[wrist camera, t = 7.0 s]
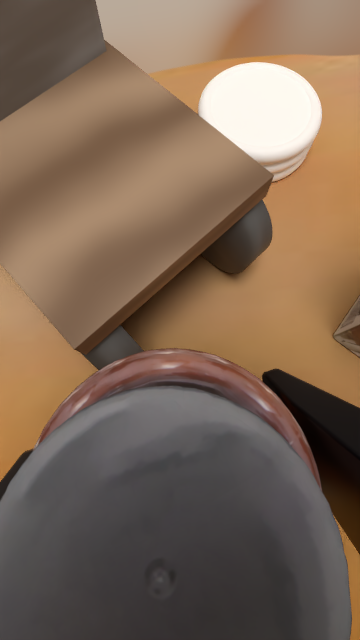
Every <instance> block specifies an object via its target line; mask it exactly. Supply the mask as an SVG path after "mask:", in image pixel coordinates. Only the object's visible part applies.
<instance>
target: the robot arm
mask: <svg viewBox="0 0 360 640" xmlns="http://www.w3.org/2000/svg"><path fill="white" fill-rule="evenodd" d="M262 379H263V383H264V384H265V385H266V386H268V387H269V388H270V389H271V390H272V391H273V392H274V393H275V394H276V395H277V396H278V397H279V398H280V399H281V401H282V402H283V403H284V405H285V406H286V407H287V408H288V410H289V411H290V412H291V414H292V415H293V417H294V418H295V420H296V421H297V423H298V425H299V426H300V428H301V429H302V431H303V433H304V435H305V437H306V439H307V442H308V444H309V446H310V448H311V451H312V454H313V457H314V460H315V463H316V465H317V469H318V473H319V477H320V482H321V488H322V492H323V494H324V496H325V498H326V499H327V501H328V503H329V505H330V508H331V511H332V513H333V515H334V516H335V518H336V519H337V521H338V522H339V524H340V525H341V527H342V528H343V530H344V531H345V533H346V534H347V536H348V538H349V539H350V541H351V542H352V544H353V545H354V547H355V548H356V550H357V551H358V553H359V554H360V408H358V407H356V406H354V405H352V404H350V403H348V402H346V401H344V400H342V399H340V398H338V397H336V396H334V395H331V394H329V393H327V392H325V391H323V390H321V389H319V388H317V387H315V386H313V385H311V384H309V383H307V382H305V381H302V380H300V379H298V378H296V377H294V376H292V375H290V374H288V373H286V372H284V371H282V370H280V369H273V370H270V371H267V372H264V373H263V375H262ZM33 449H34V448H33ZM33 449H30V450H27V451H25V452H24V453H23V454H22V455H21V456H20V457H19V459H18V460H17V461H16V462H15V464H14V465H13V466H12V468H11V469H10V470H9V471H8V473H7V474H6V475H5V477H4V478H3V479H2V480H1V482H0V500H1V498H2V496H3V495H4V493H5V491H6V490H7V487H8V485H9V483H10V481H11V480H12V479H13V477H14V476H15V475H16V473H17V472H18V470H19V469H20V467H21V465H22V464H23V463H24V462H25V460H26V459H27V458H28V457H29V455H30V454H31V453H32V452H33Z"/></svg>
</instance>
